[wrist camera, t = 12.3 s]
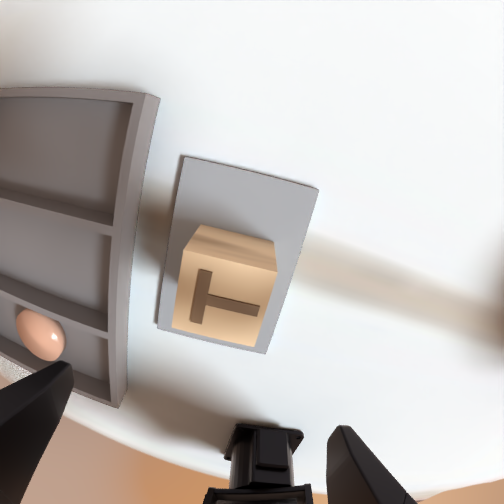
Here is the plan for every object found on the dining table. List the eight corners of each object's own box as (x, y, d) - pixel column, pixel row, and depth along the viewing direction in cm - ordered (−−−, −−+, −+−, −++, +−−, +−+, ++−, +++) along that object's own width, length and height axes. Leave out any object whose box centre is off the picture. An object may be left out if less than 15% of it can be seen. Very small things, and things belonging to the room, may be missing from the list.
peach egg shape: (67, 361, 23) (61, 369, 22) (25, 339, 23) (18, 345, 21) (66, 318, 21) (59, 326, 20) (22, 295, 21) (14, 302, 20)
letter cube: (255, 305, 20) (254, 348, 16) (188, 289, 20) (170, 328, 16) (274, 241, 19) (277, 273, 15) (200, 224, 19) (182, 250, 14)
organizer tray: (127, 389, 24) (118, 408, 22) (-5, 332, 23) (-18, 344, 21) (160, 98, 16) (146, 93, 14) (-11, 91, 15) (-31, 91, 13)
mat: (265, 351, 22) (265, 354, 22) (158, 325, 22) (157, 328, 21) (318, 189, 18) (319, 190, 18) (186, 156, 18) (184, 157, 17)
